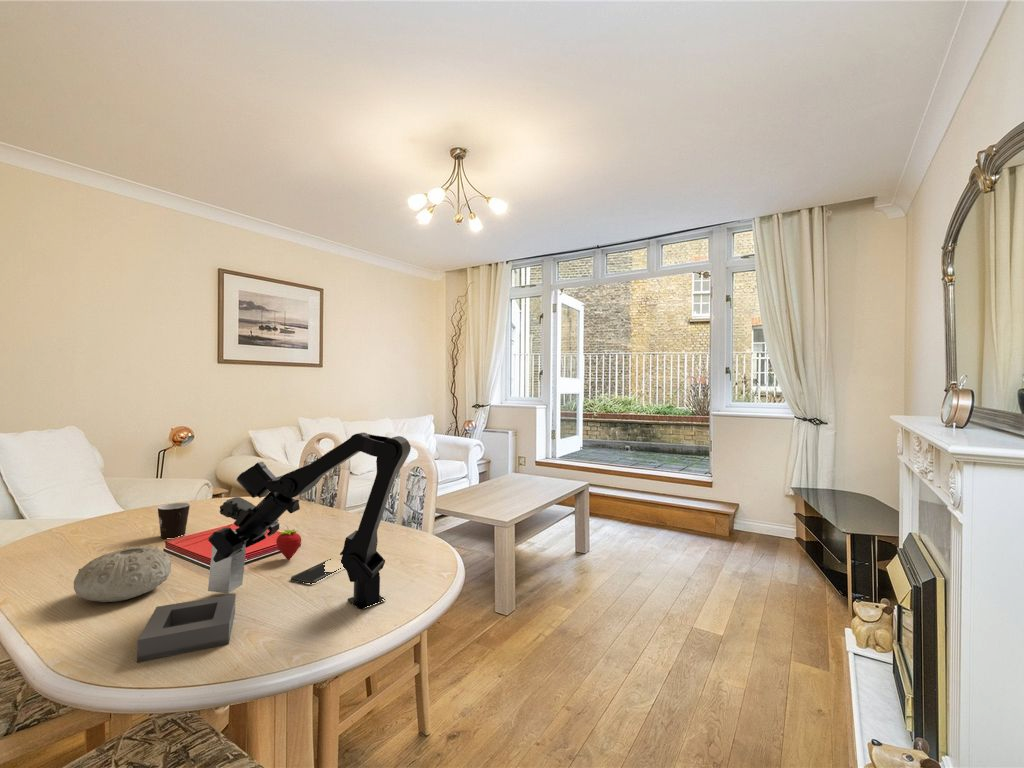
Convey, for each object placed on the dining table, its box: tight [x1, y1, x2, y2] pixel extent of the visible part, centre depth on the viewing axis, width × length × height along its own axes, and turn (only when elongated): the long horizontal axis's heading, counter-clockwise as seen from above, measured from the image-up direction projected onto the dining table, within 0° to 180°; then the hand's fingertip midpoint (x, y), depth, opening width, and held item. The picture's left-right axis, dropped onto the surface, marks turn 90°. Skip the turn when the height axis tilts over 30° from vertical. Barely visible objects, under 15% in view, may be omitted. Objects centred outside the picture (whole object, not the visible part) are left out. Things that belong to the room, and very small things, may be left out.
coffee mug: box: [157, 502, 191, 540], centre depth 149 cm, size 12×9×10 cm
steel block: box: [207, 529, 247, 595], centre depth 108 cm, size 5×5×13 cm
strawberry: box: [275, 525, 302, 560], centre depth 132 cm, size 6×8×10 cm
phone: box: [290, 558, 341, 584], centre depth 123 cm, size 8×1×15 cm
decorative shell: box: [73, 546, 172, 603], centre depth 108 cm, size 18×18×10 cm
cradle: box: [136, 593, 237, 663], centre depth 91 cm, size 14×14×4 cm
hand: (222, 556), depth 108 cm, fingers closed on steel block, 5 cm apart
